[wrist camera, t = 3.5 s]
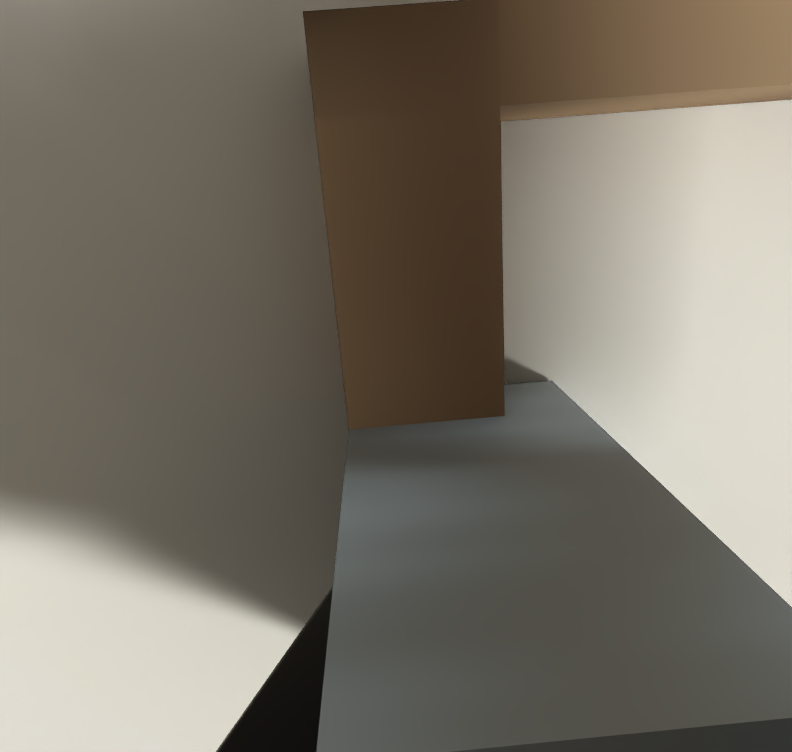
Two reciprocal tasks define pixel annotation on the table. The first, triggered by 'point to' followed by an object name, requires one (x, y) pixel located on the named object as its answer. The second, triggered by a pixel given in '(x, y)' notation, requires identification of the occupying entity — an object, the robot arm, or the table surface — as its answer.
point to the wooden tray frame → (514, 406)
